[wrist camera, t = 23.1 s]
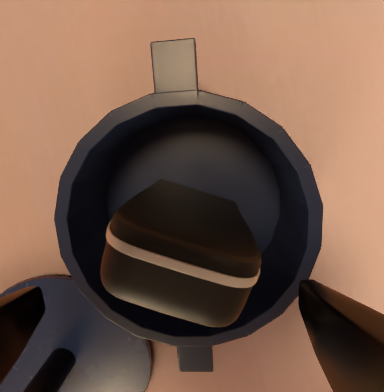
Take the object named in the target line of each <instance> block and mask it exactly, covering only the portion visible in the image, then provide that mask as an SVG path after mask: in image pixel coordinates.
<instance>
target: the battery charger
mask: <svg viewBox="0 0 384 392" xmlns="http://www.w3.org/2000/svg"><path fill="white" fill-rule="evenodd" d="M106 239H107V241H106V245H105V249H104V253H103V257H102V261H101V270H100V274H101V281H102V284H103V286H104V287H105V289H106V290H107V291H108V292H109V293H111V294H112V295H114V296H115V297H116V298H119V299H121V300H124V301H126V302H130V303H133V304H136V305H139V306H142V307H145V308H148V309H151V310H154V311H157V312H160V313H163V314H167V315H170V316H173V317H177V318H180V319H184V320H187V321H191V322H194V323H197V324H201V325H205V326H209V327H226V326H228V325H230V324H232V323H233V322H234V321H236V320H237V318H238V317H239V315H240V313H241V312H242V310H243V308H244V306H245V304H246V301H247V299H248V296H249V294H250V291H251V289H252V286H253V285H254V284H255V283H256V282H257V280H258V277H259V275H260V266H261V262H262V261H261V254H260V251H259V248H258V246H257V243H256V241H255V238H254V236H253V234H252V232H251V230H250V228H249V227H248V225H247V223H246V221H245V220H244V218H243V217H242V215H241V213H240V211H239V209H238V206H237V203H236V202H234V201H231V200H228V199H225V198H222V197H219V196H215V195H212V194H209V193H206V192H203V191H199V190H196V189H193V188H190V187H186V186H183V185H180V184H176V183H173V182H170V181H166V180H163V179H159V180H158V181H157V182H156V183H155V184H154V185H152V186H151V187H149V188H147V189H145V190H143V191H142V192H140V193H138V194H137V195H135V196H134V197H132V198H131V199H130V200H128V201H127V202H126V203H125V204H123V205H122V206H121V207H120V208H119V209H118V210H117V211H116V212H115V214H114V215H113V217H112V220H111V221H110V223H109V224H108V227H107V231H106Z"/></svg>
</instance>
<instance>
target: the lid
mask: <svg viewBox="0 0 384 392" xmlns="http://www.w3.org/2000/svg"><path fill="white" fill-rule="evenodd" d="M36 286H37V287H40V288H41V289H42V293H43V298H44V302H45V313H44V315H43V317H42V319H41V321H40V322H39V324H38V326H37V328H36V330H35V331H34V333H33V335H32V337H31V338H30V340H29V342H28V344H27V345H26V347H25V349H24V351H23V352H22V354H21V356H20V357H19V359H18V360H17V362H16V363H15V365H14V366H13V368H12V369H11V371H10V372H9V373H8V375H7V376H6V378H5V379H4V381H3V382H2V384H1V385H0V392H145V390H146V388H147V385H148V382H149V378H150V375H151V367H152V358H151V350H150V345H149V342H148V339H145V338H141V337H138V336H136V335H134V334H132V333H131V332H129V331H127V330H125V329H124V328H122V327H120V326H119V325H117V324H115V323H114V322H112V321H110V320H108V319H107V318H106V317H104V316H103V315H102V314H101V313H100V312H99V310H98V309H97V308H96V307H95V306H94V305H93V304H92V303H91V302H90V301H89V300H88V299H87V298H86V297H85V296H84V295H83V294H82V293H81V292H80V290H78V288H77V286H76V284H75V282H74V280H73V278H72V277H67V276H54V275H50V276H39V277H35V278H30V279H27V280H24V281H22V282H19V283H17V284H15V285H13V286H12V287H10V288H8V289H7V290H6V291H4V292H3V293H2V294H0V297H3V296H5V295H8V294H11V293H13V292H16V291H18V290H21V289H23V288H26V287H36Z"/></svg>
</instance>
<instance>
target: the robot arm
mask: <svg viewBox="0 0 384 392" xmlns="http://www.w3.org/2000/svg"><path fill="white" fill-rule="evenodd" d="M298 303H299V309H300V312H301V315H302V318H303V321H304V323H305V326H306V329H307V332H308V335H309V338H310V340H311V343H312V346H313V349H314V351H315V354H316V356H317V358H318V361H319V363H320V365H321V367H322V369H323V371H324V373H325V375H326V377H327V380H328V382H329V384H330V386H331V388H332V390H333V392H384V314H382V313H380V312H378V311H376V310H374V309H372V308H369V307H367V306H365V305H363V304H361V303H359V302H357V301H355V300H353V299H351V298H349V297H347V296H345V295H343V294H341V293H339V292H337V291H335V290H333V289H331V288H329V287H327V286H325V285H323V284H321V283H319V282H317V281H315V280H300V282H299V301H298ZM44 313H45V302H44V298H43V293H42V289H41V288H40V287H37V286H36V287H26V288H23V289H21V290H18V291H16V292H13V293H11V294H8V295H5V296H3V297H0V385H1V384H2V382H3V381H4V379H5V378H6V376H7V375H8V373H9V372H10V371H11V369H12V368H13V366H14V365H15V363H16V362H17V360H18V359H19V357H20V356H21V354H22V352H23V351H24V349H25V347H26V345H27V344H28V342H29V340H30V338H31V337H32V335H33V333H34V331H35V330H36V328H37V326H38V324H39V322H40V321H41V319H42V317H43V315H44Z"/></svg>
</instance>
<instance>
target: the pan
mask: <svg viewBox="0 0 384 392" xmlns="http://www.w3.org/2000/svg"><path fill="white" fill-rule="evenodd" d="M151 56H152V67H153V79H154V90H155V93H152V94H148V95H146V96H144V97H142V98H139V99H137V100H135V101H133V102H130V103H128V104H126V105H124V106H121V107H119V108H117V109H115V110H112V111H111V112H110V113H108V114H107V115H106V116H105V117H104V118H103V119H102V120H101V121H100V122H99V123H98V124H97V125H96V126H95V127H93V128H92V129H91V130H90V131H89V132H88V133H87V134H86V135H85V136H84V137H83V138H82V139H81V140H80V142H78V144H77V146H76V148H75V150H74V152H73V153H72V155H71V157H70V159H69V161H68V163H67V165H66V167H65V169H64V171H63V173H62V175H61V177H60V178H61V179H60V181H59V188H58V195H57V202H56V209H55V216H54V217H55V218H54V220H55V226H56V232H57V237H58V243H59V248H60V254H61V257H62V259H63V261H64V263H65V265H66V267H67V269H68V271H69V273H70V274H71V276H72V278H73V280H74V282H75V284H76V286H77V288H78V290H80V292H81V293H82V294H83V295H84V296H85V297H86V298H87V299H88V300H89V301H90V302H91V303H92V304H93V305H94V306H95V307H96V308H97V309H98V310H99V312H100V313H101V314H102V315H103V316H104V317H106V318H107V319H108V320H110V321H112V322H114V323H115V324H117V325H119V326H120V327H122V328H124V329H125V330H127V331H129V332H131V333H132V334H134V335H136V336H138V337H141V338H145V339H149V340H152V341H156V342H160V343H164V344H167V345H171V346H177V353H178V364H179V371H180V372H213V349H212V346H214V345H218V344H221V343H225V342H228V341H232V340H235V339H239V338H242V337H246V336H248V335H250V334H252V333H254V332H255V331H257V330H258V329H260V328H261V327H263V326H265V325H266V324H268V323H269V322H271V321H272V320H274V319H276V318H277V317H279V316H280V315H282V314H283V313H284V311H285V310H286V309H287V308H288V307H289V305H290V304H291V303H292V302H293V301H294V299H295V298H296V297H297V296H298V295H299V282H300V280H309V277H310V275H311V272H312V269H313V267H314V264H315V262H316V259H317V257H318V254H319V252H320V249H321V243H322V219H323V204H322V200H321V197H320V194H319V191H318V187H317V184H316V181H315V178H314V175H313V171H312V168H311V165H310V164H309V162H308V161H307V159H306V158H305V156H304V155H303V154H302V152H301V151H300V150H299V148H298V147H297V146H296V144H295V143H294V142H293V140H292V139H291V138H290V136H289V135H288V134H287V132H286V131H285V130H284V129H283V127H282V126H280V125H279V124H277V123H276V122H274V121H273V120H271V119H270V118H268V117H267V116H265V115H264V114H262V113H261V112H259V111H258V110H256V109H255V108H253V107H252V106H250V105H249V104H247V103H246V102H243V101H240V100H236V99H233V98H229V97H225V96H221V95H217V94H213V93H210V92H206V91H202V90H198V75H197V56H196V42H195V38H189V39H178V40H167V41H157V42H151ZM159 179H163V180H166V181H170V182H173V183H176V184H180V185H183V186H186V187H190V188H193V189H196V190H199V191H203V192H206V193H209V194H212V195H215V196H219V197H222V198H225V199H228V200H231V201H234V202H236V203H237V206H238V209H239V211H240V213H241V215H242V217H243V218H244V220H245V221H246V223H247V225H248V227H249V228H250V230H251V232H252V234H253V236H254V238H255V241H256V243H257V246H258V248H259V251H260V254H261V261H262V262H261V266H260V275H259V277H258V280H257V282H256V283H255V284H254V285H253V286H252V289H251V291H250V294H249V296H248V299H247V301H246V304H245V306H244V308H243V310H242V312H241V313H240V315H239V317H238V318H237V320H236V321H234V322H233V323H232V324H230V325H228V326H226V327H209V326H205V325H201V324H197V323H194V322H191V321H187V320H184V319H180V318H177V317H173V316H170V315H167V314H163V313H160V312H157V311H154V310H151V309H148V308H145V307H142V306H139V305H136V304H133V303H130V302H126V301H124V300H121V299H119V298H116V297H115V296H114V295H112V294H111V293H109V292H108V291H107V290H106V289H105V287H104V286H103V284H102V281H101V274H100V270H101V261H102V257H103V253H104V249H105V245H106V241H107V239H106V231H107V227H108V224H109V223H110V221H111V220H112V217H113V215H114V214H115V212H116V211H117V210H118V209H119V208H120V207H121V206H122V205H123V204H125V203H126V202H127V201H128V200H130V199H131V198H132V197H134V196H135V195H137V194H138V193H140V192H142V191H143V190H145V189H147V188H149V187H151V186H152V185H154V184H155V183H156V182H157V181H158V180H159Z"/></svg>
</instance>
